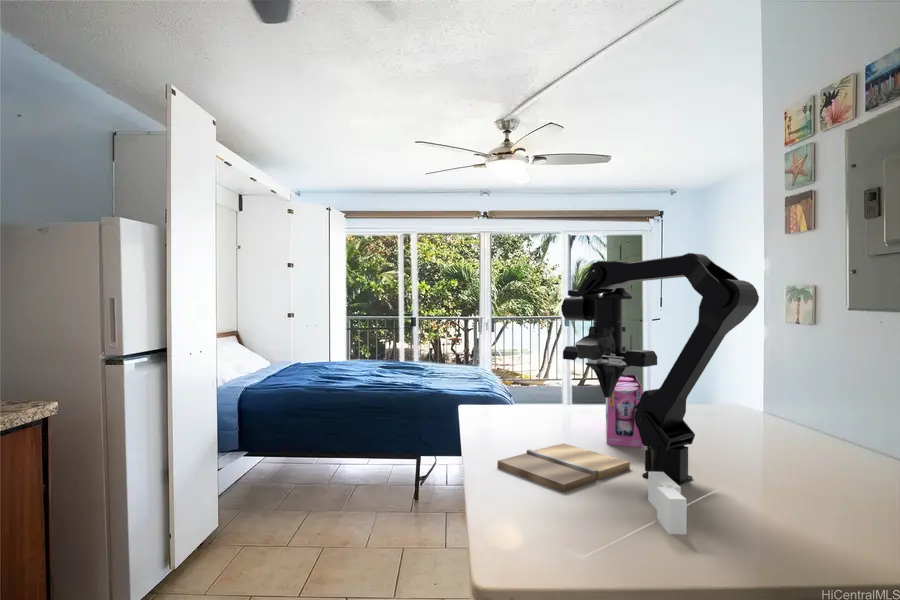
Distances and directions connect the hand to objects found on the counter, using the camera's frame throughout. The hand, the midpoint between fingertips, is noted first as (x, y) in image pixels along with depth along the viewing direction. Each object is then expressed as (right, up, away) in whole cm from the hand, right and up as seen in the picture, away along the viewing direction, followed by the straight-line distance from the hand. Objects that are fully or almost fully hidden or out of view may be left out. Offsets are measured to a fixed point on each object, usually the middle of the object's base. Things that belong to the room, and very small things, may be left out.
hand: (607, 397), depth 101 cm
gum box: (+10, -14, +20) cm, 26 cm away
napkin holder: (-1, -13, -28) cm, 31 cm away
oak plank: (-7, -13, -3) cm, 15 cm away
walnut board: (-15, -13, -10) cm, 22 cm away
